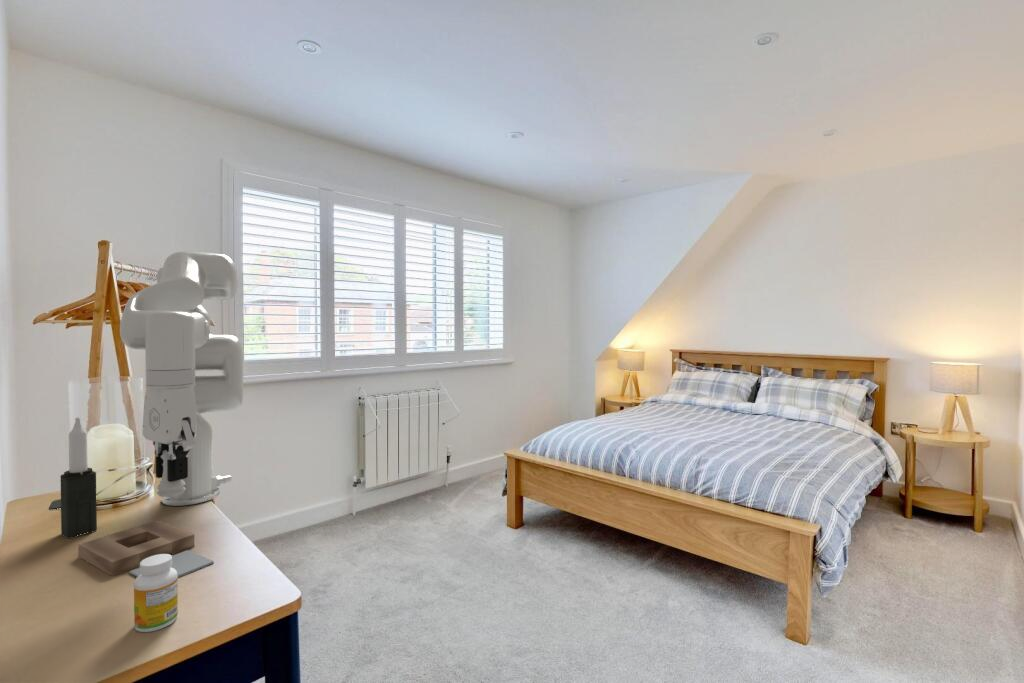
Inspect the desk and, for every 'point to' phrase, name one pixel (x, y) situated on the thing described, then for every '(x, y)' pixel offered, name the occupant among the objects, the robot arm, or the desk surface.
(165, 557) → the supplement bottle
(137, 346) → the robot arm
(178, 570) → the rubber mat
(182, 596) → the desk surface
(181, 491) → the rook chess piece
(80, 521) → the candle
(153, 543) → the collar block
